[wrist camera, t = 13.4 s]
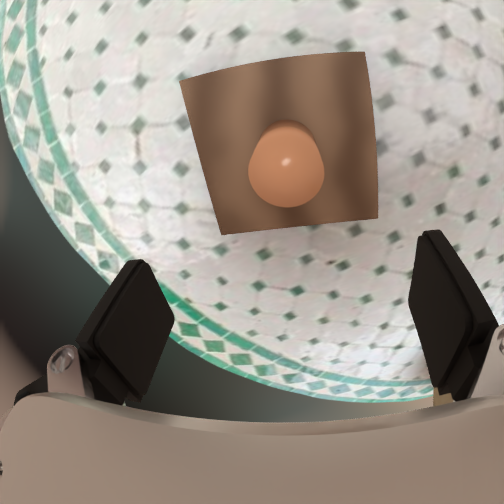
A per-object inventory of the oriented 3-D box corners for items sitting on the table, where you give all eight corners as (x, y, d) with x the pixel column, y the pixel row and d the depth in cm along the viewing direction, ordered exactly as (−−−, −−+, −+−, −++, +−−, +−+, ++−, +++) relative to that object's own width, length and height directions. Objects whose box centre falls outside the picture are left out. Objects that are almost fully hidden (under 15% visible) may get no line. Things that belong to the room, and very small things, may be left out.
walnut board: (359, 53, 20) (364, 51, 18) (373, 209, 29) (377, 218, 27) (186, 80, 23) (179, 81, 22) (225, 225, 32) (221, 235, 30)
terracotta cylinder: (311, 115, 22) (319, 131, 17) (319, 169, 25) (328, 202, 19) (253, 124, 23) (240, 143, 18) (264, 176, 26) (256, 211, 21)
